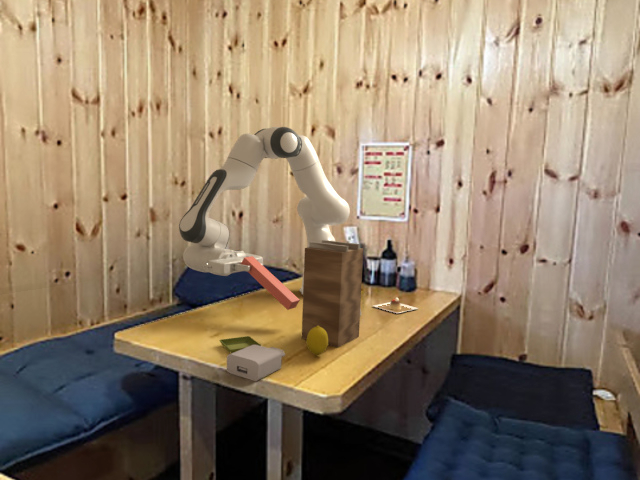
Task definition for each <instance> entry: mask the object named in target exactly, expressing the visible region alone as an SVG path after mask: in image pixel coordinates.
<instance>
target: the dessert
mask: <svg viewBox="0 0 640 480" xmlns="http://www.w3.org/2000/svg"><path fill="white" fill-rule="evenodd" d="M387 304H390V305H387ZM382 305H386V306H388V309H386V308H383V306H382ZM378 306H382V307H378ZM402 306H404V307H403V308H406V307H407V309H409V310H404V311H401V310H402ZM372 307H373V308H375V309H378V308H379V310H381V309H382V311H385V310H386V311H385V312H388V311H389V313H392V312H393V313H392V314H395V313H396V315H398V314H402V313H407V311H408V312H411V311H416V310H418V309H419V307H415V306H411V305H408V304H406V303H405V304H404V303H401V302H400V299H399V298H398V297H395V298H393V299H392V300H390V302H389V301H388V302H384V303H379V304H374V305H372ZM389 308H390V309H389ZM410 308H411V309H410ZM391 309H393V310H394V311H393V310H391ZM395 311H399V312H395Z"/></svg>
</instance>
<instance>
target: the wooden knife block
mask: <svg viewBox="0 0 640 480" xmlns="http://www.w3.org/2000/svg"><path fill="white" fill-rule="evenodd" d="M360 245H361V244H360V243H353V242H346V241H345V242H344V241H343V242H342V241H336V240H335V241H329V240H322V243H318V242H309V247H308V248H307V247H305V248H304V258H303V259H304V262H303V263H304V265H303V273H304V285H303V295H302V317H301V318H302V320H301V340H306V341H307V336H308V333H309V331H310V330H311V329H312V328H314V327H316V326H320V327H321V328H323V329H324V330H325V331H326V332H327V335H328V346H329V347H330V346H331V347H333V348H341V347H342V346H344V345H346V344H348V343H350V342H352V341H353V340H355V339H357V338H359V337H360V321H361V316H360V307H361V302H362V301H361V299H362V281H363V259H364V248H363V247H362V248H361V246H360Z"/></svg>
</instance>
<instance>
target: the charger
mask: <svg viewBox="0 0 640 480" xmlns="http://www.w3.org/2000/svg"><path fill="white" fill-rule="evenodd" d="M285 356H286V353H285V349H281V348H279V347H278V348H277V347H274V346H271V347H267V346H263V345H261V346H259V345H251V346H249V347H246V348H244V349H241V350H239V351H236V352H234V353H232V354H231V353H229V354H227V356H226V371H227V373H228V374H231V375H234V376H238V377H240V378H241V377H242V378H244V379H248V380H252V381H255V382H258V381H259V380H261V379H263V378H265V377H267V376H269V375H272V374H273V373H275V372H277V371H279V370H281V369H282V359H283V357H285Z"/></svg>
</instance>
